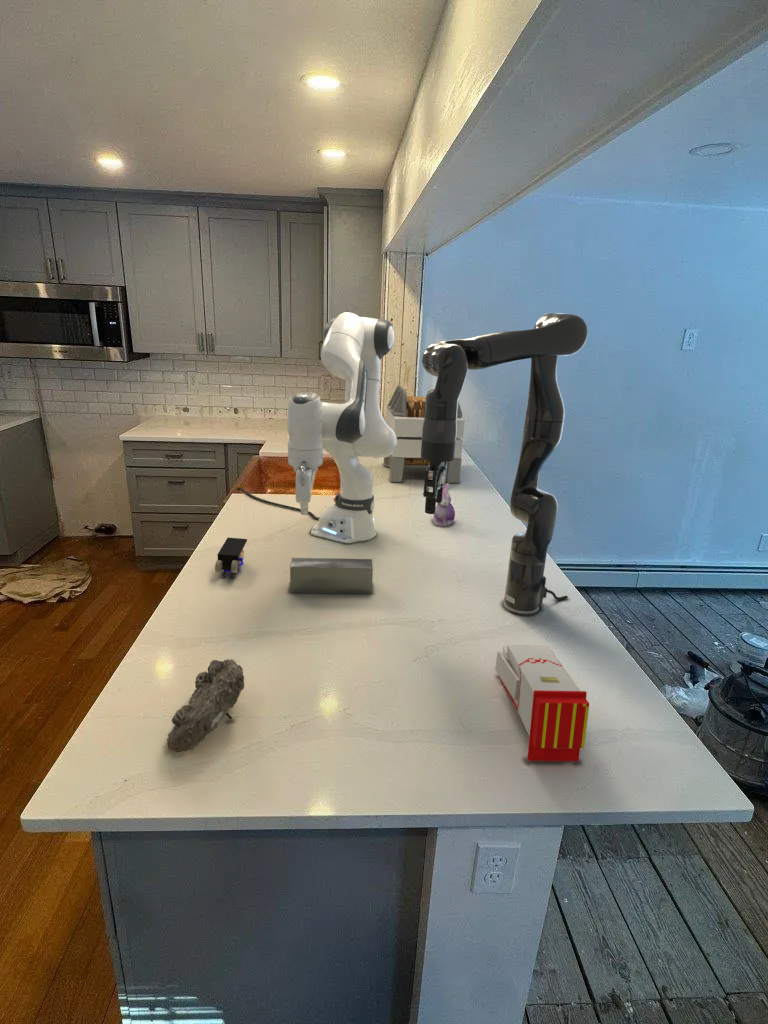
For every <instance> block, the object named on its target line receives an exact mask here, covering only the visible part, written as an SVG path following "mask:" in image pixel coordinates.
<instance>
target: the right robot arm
mask: <svg viewBox="0 0 768 1024" xmlns="http://www.w3.org/2000/svg"><path fill="white" fill-rule="evenodd" d="M588 329H589V328H588V326H587V323H586V321H585V320H584V318H582V317H581V316H579V315H578V314H573V313H564V312H563V313H562V312H548V313H544V314H542V315H541V316H540V317H538V319H537V321H536V322H535V324H534V327H533V328H527V329H518V330H516V329H515V330H505V331H503V330H502V331H497V332H496V331H495V332H490V333H485V334H481V335H476V336H474V337H469V338H460V339H450V340H449V339H448V340H441V341H437V342H434V343H432V344H430V345H429V346H428V347H427V348H425V349H424V351H423V353H422V356H421V364H422V367H423V369H424V370H425V371H426V372H427V373H428V374H429V375H431V376H434V377H436V383H435V387H434V388H432V389H430V390H428V391H427V393H426V396H425V397H426V401H425V417H424V422H423V428H422V443H421V458H422V459H424V460H427V461H429V462H430V464H429V465H428V466H426V469H425V470H424V482H423V493H422V496H423V498H425V503H424V504H425V505H424V513H425V514H426V515H427V514H428V515H434V513H435V508H436V506H437V503H441V502H442V496H443V488H444V487H445V486H446V482H447V481H446V472H447V462H450V461H452V460H454V458H455V447H456V435H457V410H458V402H459V398H460V396H461V393H462V391H463V387H464V384H465V381H466V377H467V375H468V371H469V370H471V371H480V370H485V369H488V368H494V367H497V366H498V367H499V366H501V365H505V364H509V363H514V362H519V361H522V360H528V359H530V377H529V385H528V394H527V404H526V409H525V417H524V422H523V428H522V439H521V447H520V451H519V452H520V453H519V459H518V463H517V469H516V470H517V471H516V474H515V478H514V481H513V487H512V490H511V494H510V500H509V508H510V513H511V515H512V516H513V518H514V519H517V520H518V521H521V522H522V523H525V524H527V526H526V529H525V531H524V532H518V533H516V534H514V535H513V536H512V538H511V542H510V551H509V560H508V567H507V574H506V582H505V590H504V598H503V601H502V602H503V603H502V604H503V607H504V608H505V609H506V610H508V611H509V612H512V613H514V614H517V615H525V616H529V615H533V614H536V613H537V612H539V611H540V610H542V608H543V601H544V599H546V598H547V594H550V595H552V597H553V598H554V599H555V600H557V601H562V600H565V599H568V595H563V596H559V597H558V596H557V595H556V593H555V592H554V591H553V590H550V589H548V588H547V587H546V581H547V576H545V575H544V574H545V568H546V561H547V554H548V548H549V545H550V543H551V541H552V539H553V536H554V530H555V527H556V521H557V518H558V517H557V516H558V511H559V510H558V509H559V503H558V500H557V498H556V496H555V495H553V494H552V493H550V492H547V491H545V490H542V489H540V488H539V480H540V475H541V472H542V468H543V466H544V464H545V463H546V461H547V460H548V459H549V458H550V456H551V455H552V454H553V452H554V451H555V450H556V448H558V445H559V444H560V442H561V439H562V436H563V429H564V423H565V415H566V413H565V412H566V411H565V405H564V400H563V396H562V394H561V391H560V388H559V384H558V378H557V368H558V360H559V357H560V356H561V357H566V356H568V357H569V356H572V355H575V354H577V353H578V352H579V351H581V350H582V348H583V347H584V346H585V345H586V342H587V339H588V335H589V330H588ZM430 489H432V491H430Z"/></svg>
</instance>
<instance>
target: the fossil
mask: <svg viewBox="0 0 768 1024" xmlns="http://www.w3.org/2000/svg"><path fill="white" fill-rule="evenodd" d="M243 670H244V669H243V667H242V665H240V664H237V662H236V661H235V660H234V659H232V658H231V659H227V658H226V659H224V660H223V661H222V660H217V659H212V660H211V661H210V663H209V665H208V666H207V671H201V672H199V673H198V674H197V675H196V676H195V680H194V684H195V685H194V687H195V689H194V690H193V693H192V694H191V697H190V698H189V700H188V704H184V705H182V706H181V707H180V709H177V710H176V711H175V713H174V715H173V716H172V718H171V723H172V724H173V727H172V730H171V731H170V732H168V734H167V738H166V741H167V742H166V745H167V749H168V750H169V751H173V752H174V753H176V754H178V753H182V752H188V751H189V752H192V751H193V750H195V748H196V747H197V746H199V744H200V743H201V742H203V741H204V740H205V739H206V738H207V737H208V736H209V735H210V734H211V733H212V732H214V730H215V729H217V727H218V726H219V724H220V722H221V721H222V720H223V719H224V718H225V716H226V717H227V719H229V720H233V717H232V715H230V714H229V710H230V709H231V708H234V706H235V704H236V703H237V702H238V699H239V697H240V695H241V693H242V691H243V690H245V689H244V688H245V675H244V671H243Z"/></svg>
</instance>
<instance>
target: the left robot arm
mask: <svg viewBox="0 0 768 1024" xmlns="http://www.w3.org/2000/svg"><path fill="white" fill-rule="evenodd" d="M392 324H393V323H392V322H390V321H389V320H387V319H383V318H374V317H366V316H360V315H358V314H356V313H354V312H342V313H340V314H339V315H337V316H336V317H333V318H330V319H329V320H328V322H326V324H325V326H324V328H323V329H324V330H323V343H322V346H321V350H320V359H321V363H322V365H323V366H324V368H325V369H326V370H327V371H328V372H329V373H330V374H332V375H333V376H334V377H336V378H338V379H341V380H343V381H345V390H344V391H345V392H344V403H335V402H326V401H321V397H320V395H319V394H318V393H316V392H313V391H302V392H297V393H295V394H293V395H291V396H290V397H289V402H288V408H287V419H286V421H287V425H286V427H287V432H288V442H287V464H288V465H289V466H290V467H292V470H293V471H294V472H295V502H296V503H298V504H299V506H300V507H299V508H298V507H295V506H290V505H285V504H282V503H279V502H273V501H269V500H266V499H263V498H260V497H259V496H258V497H257V496H256V495H254V494H252V493H250V492H248V491H246V490H245V489H244V488H242V487H237V488H236V491H241V492H242V493H244V494H245V495H247V496H249V497H251V498H252V499H255V500H257V501H260V502H262V503H266V504H269V505H274V506H276V507H282V508H286V509H290V510H293V511H299V512H300V514H301V515H302V516H307V515H310V516H311V517H312V518H313V519H314V520H315V521H316V520H317V523H315V524H314V525H313V526H312V528H311V530H310V533H311V536H315V537H319V538H323V539H326V540H330V541H336V542H339V543H343V544H352V543H357V542H365V541H368V540H372V539H373V538H375V537H376V535H377V532H376V528H375V523H374V522H375V518H374V513H373V512H374V509H375V496H374V474H373V472H372V471H371V469H369V467H367V466H365V465H364V464H362V463H361V462H360V460H359V458H358V457H360V458H370V459H371V458H372V459H379V458H382V459H384V457H389V456H390V455H391V454H392V453H393V452H394V451H395V448H396V445H397V438H396V434H395V432H394V431H393V429H392V428H391V427H389V426H388V424H387V423H386V419H384V417H383V415H382V412H381V409H380V387H381V373H382V369H381V367H382V366H381V360H382V359H383V358H384V357H385V356H386V355H388V354H389V353H390V351H391V350H392V349H393V347H394V346H393V345H394V343H395V332H394V325H392ZM323 450H324V451H325V452H326V453H327V454H328V455H329V456H330V457H331V458H332V460H333V461H334V462H335V464H336V467H337V470H338V473H339V483H340V484H339V485H340V488H339V489H340V490H339V491H338V492H337V494H336V495H335V496H334V497H333V502H334V504H333V505H331V506H329V507H328V508H326V509H325V510H323V512H321V514H320V515H319V516H318V517H317V516H316V515H314V513H313V512H311V511H309V504H310V503H311V500H312V494H313V489H314V484H315V479H316V474H317V472H318V470H319V467H321V466H322V465H323V460H324V459H323V457H324V456H323V455H324V454H323V453H324V452H323Z"/></svg>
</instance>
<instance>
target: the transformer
mask: <svg viewBox="0 0 768 1024" xmlns="http://www.w3.org/2000/svg"><path fill="white" fill-rule="evenodd" d="M407 394H408V393H407V390H406V389H404V388H403V387H402V385H399V384H398V385H397V386H396V388H395V390H394V392H393V394H392V395H391V398H390V400H389V402H388V404H387V405H386V413H385V414H386V415H385V422H386V423H387V424H388V426H389V427H391V428H392V429H393V431H394V432H395V434H396V438H397V445H396V448H395V451H394V452H393V453H392V454H391V455H390V456H389V457H383V466H384V467H388V468H389V475H388V476H389V477H388V478H389V480H390V482H391V483H402V482H403V475H404V469H405V466H406V467H407V466H411V467H412V466H413V467H415V466H416V467H417V466H418V467H429V464H430V462H429V461H427V460H424V459H422V458H421V443H422V428H423V422H424V417H425V401H426V396H415V395H414V396H413V395H412V396H411V395H407ZM464 429H465V419H464V418H463V411H462V408H461V405H460V402H459V401H458V410H457V435H456V447H455V458H454V460H452V461H450V462H447V472H446V482H447V483H449V484H455V483H456V484H459V483H461V472H462V461H463V460H462V453H463V442H464V441H463V440H462V439H463V438H464V431H465V430H464Z"/></svg>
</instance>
